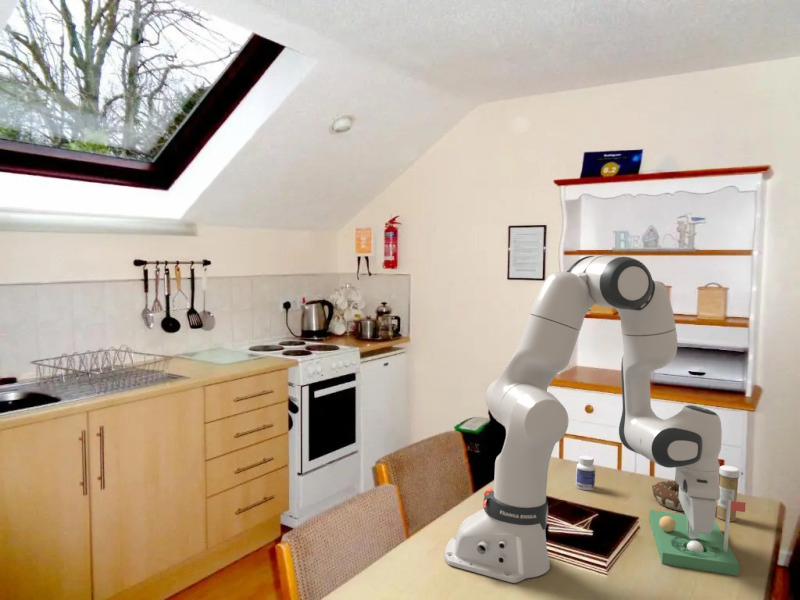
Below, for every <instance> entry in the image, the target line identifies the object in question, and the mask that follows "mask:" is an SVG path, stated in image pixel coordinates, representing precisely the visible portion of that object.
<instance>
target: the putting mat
mask: <svg viewBox="0 0 800 600" xmlns="http://www.w3.org/2000/svg"><path fill="white" fill-rule="evenodd" d="M730 510H733V511H736V512H742V513H745V512H746V502H742V501H737V502H736V501H730V500H727V507H726V520H724V524H725V525H724V534H723V532H722V530H721V528H720V527H719V525H718V523H717V521H716V520H715V519H714V525H713V530H712V532H711V534H710V535H706V534H699V533H698V538H697V539H691V538H690V537H689V535H688V533H687V518H686V514H685V513H683V514H682V513H677V512H676V513H675V512H669V511H662V510H654V509H649V514H648V515H649V516H648V521H649V524H650V527H651V531H652V534H653V537H654V540H655V544H656V548H657V551H658V555H659V559H660V561H661V564H662V565H667V566H674V567H680V568H687V569H693V570H699V571H704V572H705V571H706V572H710V573H711V572H712V573H718V574H723V575H728V576H729V575H730V576H737V577H739V571H740V564H739V561H738V560H737V558H736V556H735V554H734V553H733V551H732V549H731V547H730V545H729V536H730V535H729V534H730V533H729V531H730V522H731V521H730ZM664 516H669V517H671V518H673V519H674V521H675V523H676V527H675V529H674V530H673V531H671V532H666V531H664V530H663V529H662V528H661V527H660V524H659V522H660V519H661V518H662V517H664ZM690 541H698V542H700V543H701V544H702V546H703V548H704V552H703V553H700V552H694V551H691V550H688V549H687V544H688V543H689V542H690Z"/></svg>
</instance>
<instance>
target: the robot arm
mask: <svg viewBox="0 0 800 600" xmlns="http://www.w3.org/2000/svg"><path fill="white" fill-rule="evenodd" d="M594 305H595V306H599V307H604V308H615V309H616V311H617V312H618V315H619V317H620V328H621V335H622V336H621V337H622V344H623V346H622V347H623V355H622V357H621V368H620V369H621V370H620V371H621V396H622V397H621V398H622V411H621V417H620V421H619V426H618V435H619V440H620V441H621V444H622V445H623V446H624V448H625V449H627V450H629V451H631V452H634V453H635V454H638V455H641V456H642V457H644V458H646V459H647V460H649V461H652V462H653V463H655V464H657V465H659V466H661V467H663V468H669V469H670V468H671V469H672V468H675V473H674V481H675V482H676V483H677V484H678V485H679V501H680V503H681V505H682V508H683V510H684V511H683V513H684V515H686V518H687V533H688V535H689V537H690V538H691V539H697V538H698V533H699V534H706V535H710V534H711V532H712V530H713V525H714V519H715V518H716V514H717V501H718V500H719V499H720V489H719V481H720V475H719V474H720V473H719V469H720V463H719V455H720V452H721V451H722V450H721V449H722V437H723V436H722V435H723V434H722V429H723V428H722V421H721V418H720V416H719V414H717V413H716V412H715V411H712V410H710V409H707V408H704V407H702V406H697V405H693V404H692V405H691V404H690V405H689V404H688V405H684V406H683V408H682V409H681V410H680V411H679V412H678V413H676V414H674V415H673V416H670V417H669V418H665V419H662V418H660V417H659V416H657V415H656V413H655V412H654V410H653V408H652V405H651V375H652V374H653V372H654V371H657V370H659V369H662V368H665V367H666V366H667V365H669V364H670V363H671V362H672V361H673V360H674V358H675V357H676V355H677V352H678V333H677V328H676V321H675V314H674V310H673V307H672V304H671V300H670V297H669V294H668V291H667V289H666V287H665V286H664V285H663V284H662V283H661V282H659V281H657V280H653V278H652V275H651V272H650V270H649V269H648V268H647V266H646V265H645V264H644V263H643V262H641V261H640V260H638V259H635V258H632V257H631V256H630V257H629V256H616V255H613V254H601V255H599V254H598V255H587V256H584V257H581V258H579V259H578V260H576V261H575V262H574V263H573V264H572V265H571V266H570V267H569V269H567V271H556V272H552V273H551V274H549V275H548V276H547V278H546V279H545V280H544V282H543V284H542V285H541V287H540V289H539V291H538V292H537V295H536V297H535V299H534V301H533V304H532V306H531V309H530V311H529V314H528V317H527V319H526V322H525V325H524V327H523V331H522V334H521V336H520V339H519V341H518V344H517V347H516V349H515V351H514V353H513V354H512V356H511V358H510V359H509V361H508V363H507V364H506V366H505V367H504V369H503V370H502V372H501V374H500V375H499V377H497V378H496V379H494V380H493V381H492V382H491V383H490V385H489V386H488V387H487V390H486V392H485V403H486V406H487V409H488V411H489V412H490V414H491V416H492V417H493V419H494V420H496V422H498V423H499V424H501V425H502V426H503V427H504V429H505V439H504V442H503V446H502V449H501V452H500V453H499V454H498V455H497V456H496V459H495V462H494V475H493V476H494V479H493V481H494V482H493V489H492V487H487V488H486V489H484V493H483V497H484V498H483V504H482V505H483V508H481V509H480V510H478V511H476V512H475V513H472V514H470V515H468V516H467V517H466V518H465V519H464V520H463V521H462V522H461V523H460V526H459V528H458V530H457V533H456V535H455V536H453V537H452V538H450V540H449V541H448V543H447V544H446V546H445V550H444V560H445V562H446V563H447V564H448V565H449V566H452V567H455V568H459V569H462V570H464V571H465V570H466V571H468V572H469V571H470V572H473V573H476V574H479V575H484V576H487V577H490V578H494V579H498V580H501V581H505V582H507V583H513V584H516V583H518V582H519V583H520V582H521V581H524V580H526V579H530V578H536V577H540V576H542V575H544V574H546V573H547V572H548V571H549V570H550V568H551V562H550V559H549V554H548V548H547V547H548V546H547V537H546V528H547V525H548V520H549V519H548V517H549V505H548V499H547V485H548V471H549V464H550V460H551V457H552V454H553V452H554V451H553V450H554V449H555V446H556V444H557V443H559V442H560V441H561V440H562V439H563V438H564V436H565V435H566V433H567V431H568V427H569V423H570V421H569V415H568V411H567V410H566V408H565V406H564V404H563V403H561V401H560V400H559V399H558V398H557V397H556V396H555V395H554V394H553V393H551V392H549V391H547V390H548V388H549V386H550V384H551V383H552V382H553V380H554V379H555V378H556V377H557V375H558V374H559V373H561V372H562V371H563V370H565V369H566V368H567V367H568V365H569V363H570V361H571V358H572V356H573V352H574V350H575V346H576V343H577V342H578V337H579V335H580V332H581V329H582V326H583V323H584V320H585V317H586V315H587V314H588V312H589V310H590V309H591V308H592V307H593V306H594Z"/></svg>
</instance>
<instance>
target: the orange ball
mask: <svg viewBox="0 0 800 600" xmlns="http://www.w3.org/2000/svg"><path fill="white" fill-rule="evenodd" d="M659 524H660V527H661V528H662V529H663V530H664V531H666V532H671V531H673V530H674V529H675V527H676V523H675V521H674V519H673V518H671V517H669V516H664V517H662V518H661V519H660V522H659Z"/></svg>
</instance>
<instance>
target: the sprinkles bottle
mask: <svg viewBox="0 0 800 600" xmlns="http://www.w3.org/2000/svg"><path fill="white" fill-rule="evenodd" d="M739 477H740V469H739V468H737V467H736V466H732V465H725V464H724V465H721V466H720V465H719V489H720V499H719V500H717V507H716V517H717V519H720V520H722V521H725V520H726V507H727V500H730V501H736V502H738V490H739V489H738V486H739ZM736 516H737V511H733V510H730V522H735V521H736V520H737V517H736Z"/></svg>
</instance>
